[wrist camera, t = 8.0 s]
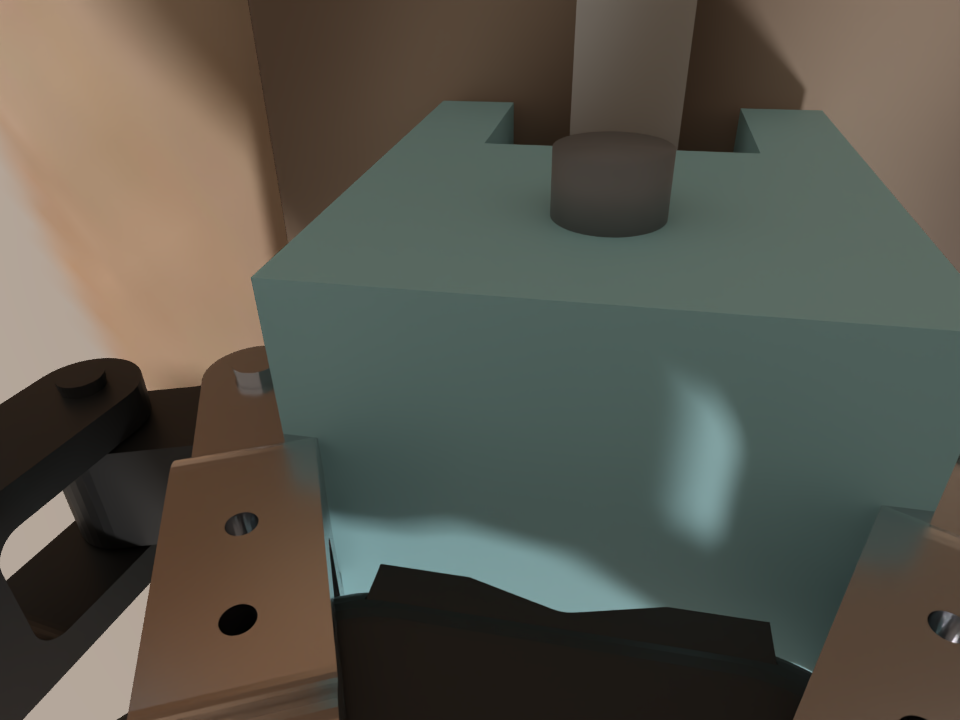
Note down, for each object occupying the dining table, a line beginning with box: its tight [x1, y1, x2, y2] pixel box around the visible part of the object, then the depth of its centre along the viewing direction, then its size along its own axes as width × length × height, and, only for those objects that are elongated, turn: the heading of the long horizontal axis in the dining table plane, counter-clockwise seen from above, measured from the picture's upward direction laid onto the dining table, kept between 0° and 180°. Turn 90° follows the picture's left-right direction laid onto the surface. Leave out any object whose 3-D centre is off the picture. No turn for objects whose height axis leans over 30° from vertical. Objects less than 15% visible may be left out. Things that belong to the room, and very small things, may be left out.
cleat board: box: [248, 0, 960, 273], centre depth 13 cm, size 13×22×6 cm, turn 1°
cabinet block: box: [251, 101, 960, 672], centre depth 10 cm, size 6×7×7 cm
